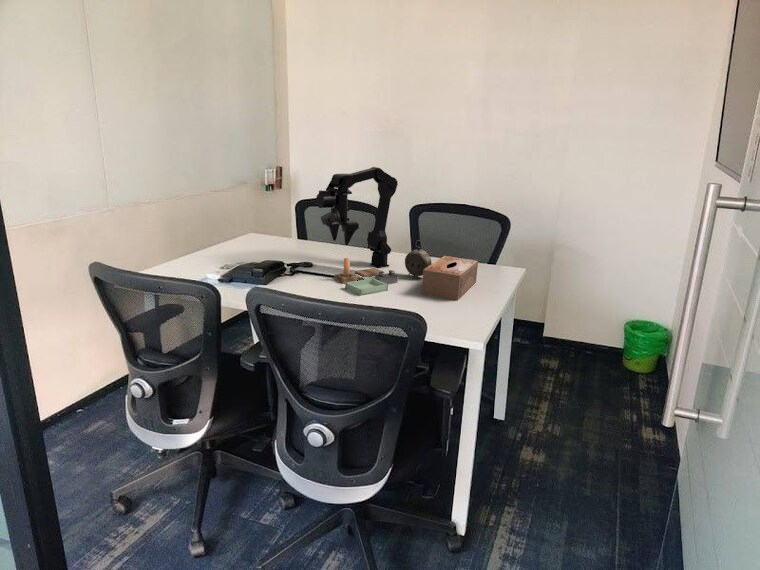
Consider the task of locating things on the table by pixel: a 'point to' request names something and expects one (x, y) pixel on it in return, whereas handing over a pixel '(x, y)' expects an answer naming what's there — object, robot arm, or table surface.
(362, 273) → the tan rectangular slab
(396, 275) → the grey boxy piece
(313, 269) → the table surface
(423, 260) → the alarm clock
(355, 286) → the tray
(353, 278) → the socket block
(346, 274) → the dowel
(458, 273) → the tissue box cover
